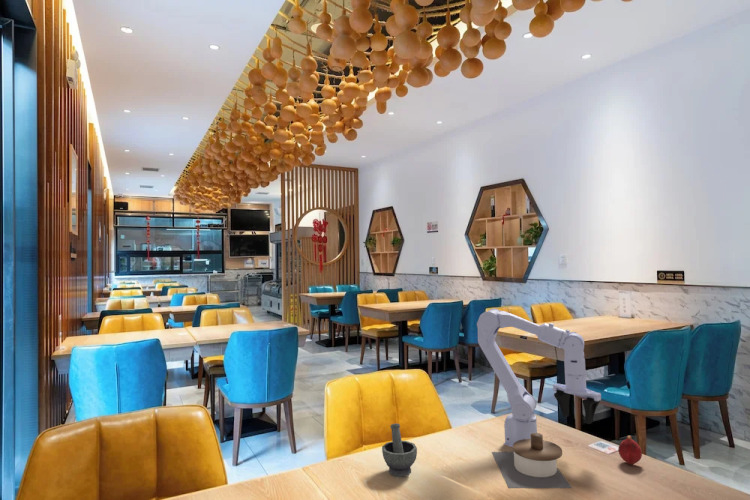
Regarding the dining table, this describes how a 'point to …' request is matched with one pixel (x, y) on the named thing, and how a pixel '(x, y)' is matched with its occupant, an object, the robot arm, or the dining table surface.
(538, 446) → the lid
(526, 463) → the bowl
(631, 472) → the dining table surface
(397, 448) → the mortar and pestle
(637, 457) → the onion
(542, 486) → the placemat
